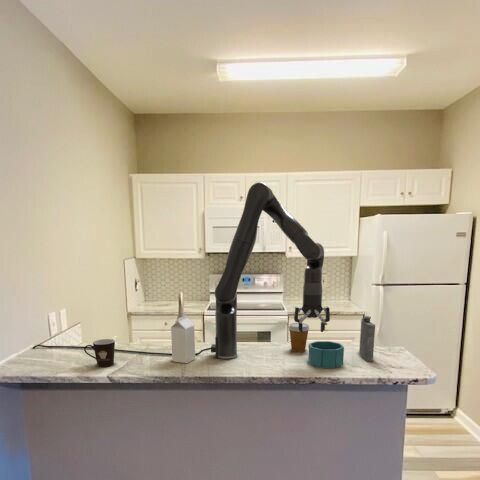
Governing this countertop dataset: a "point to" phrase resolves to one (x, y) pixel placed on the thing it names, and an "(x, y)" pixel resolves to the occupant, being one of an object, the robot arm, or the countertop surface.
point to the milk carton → (183, 340)
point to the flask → (367, 339)
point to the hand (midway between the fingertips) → (311, 331)
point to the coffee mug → (103, 352)
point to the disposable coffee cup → (298, 337)
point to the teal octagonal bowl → (326, 354)
